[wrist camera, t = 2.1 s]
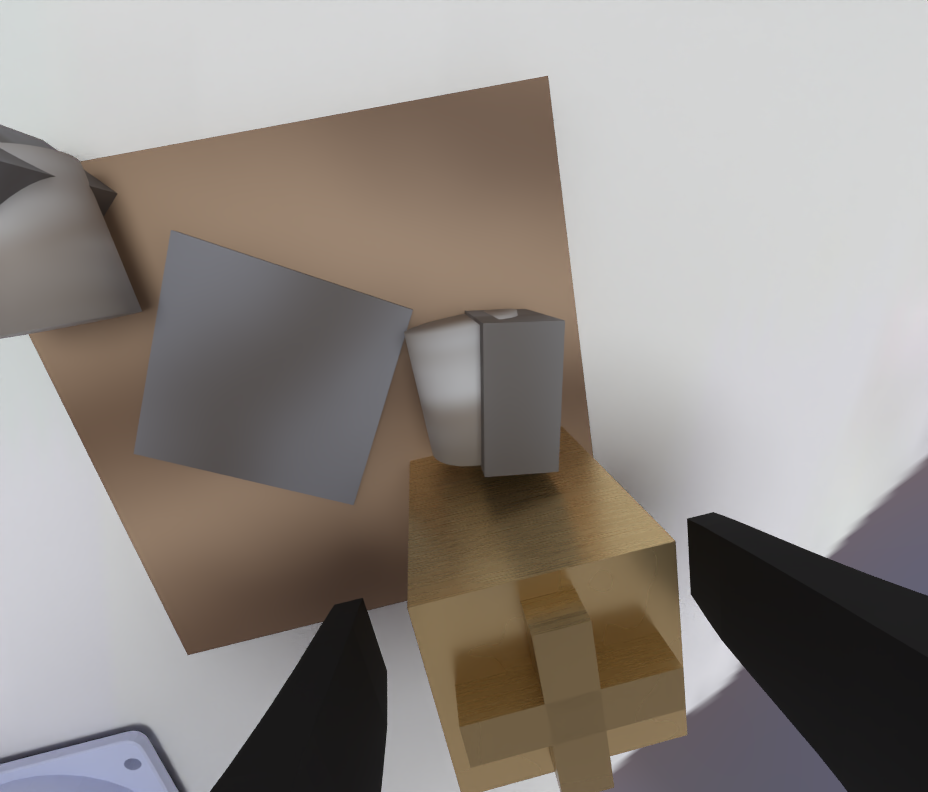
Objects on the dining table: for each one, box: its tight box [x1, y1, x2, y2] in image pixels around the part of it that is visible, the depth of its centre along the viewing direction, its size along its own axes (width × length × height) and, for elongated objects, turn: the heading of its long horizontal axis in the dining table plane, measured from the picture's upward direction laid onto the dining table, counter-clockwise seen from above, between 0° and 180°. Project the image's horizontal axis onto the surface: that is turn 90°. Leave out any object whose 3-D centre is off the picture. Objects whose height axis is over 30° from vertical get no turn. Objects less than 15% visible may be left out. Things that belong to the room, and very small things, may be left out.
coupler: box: [407, 426, 687, 792], centre depth 10 cm, size 4×4×6 cm
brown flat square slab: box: [0, 76, 593, 655], centre depth 10 cm, size 14×13×4 cm
